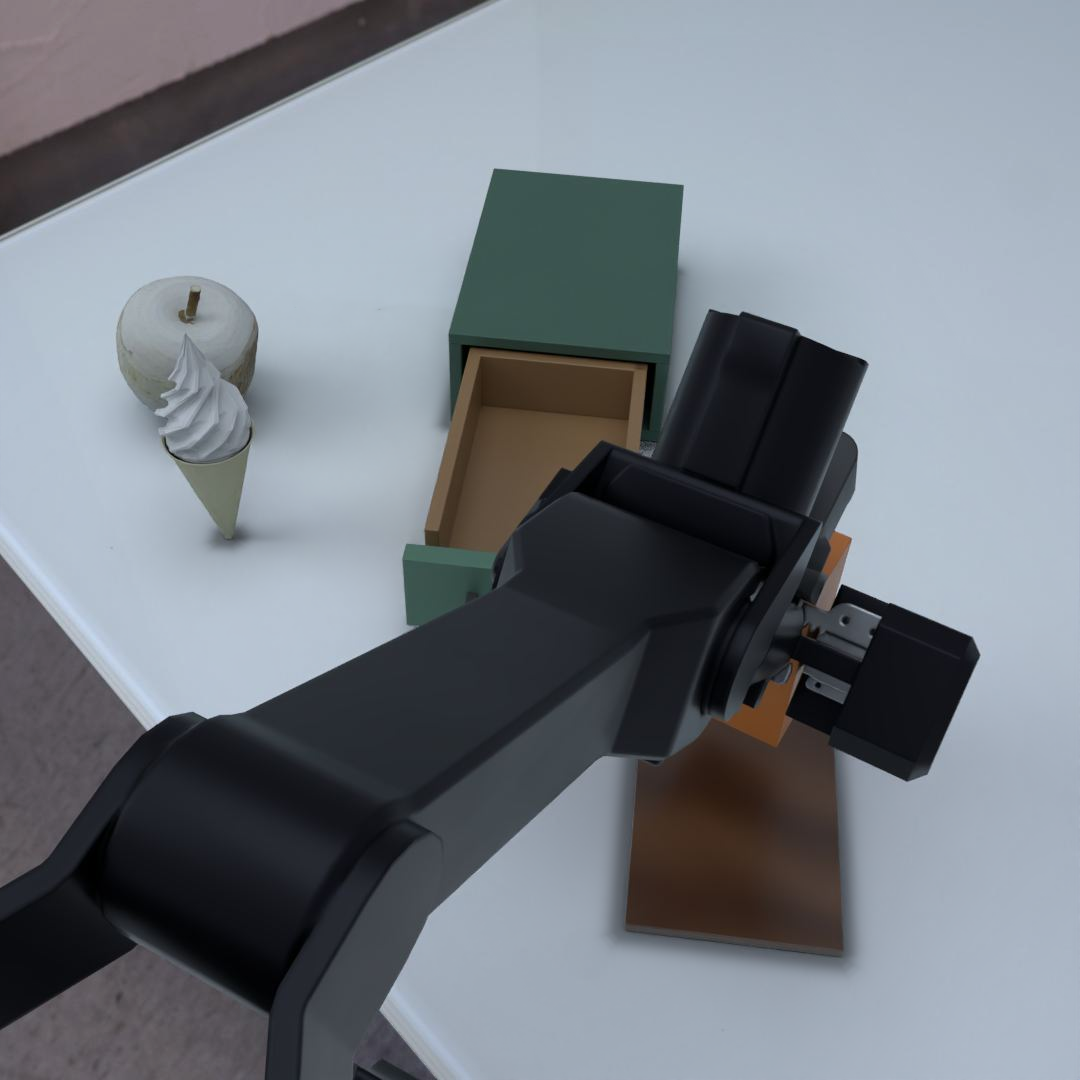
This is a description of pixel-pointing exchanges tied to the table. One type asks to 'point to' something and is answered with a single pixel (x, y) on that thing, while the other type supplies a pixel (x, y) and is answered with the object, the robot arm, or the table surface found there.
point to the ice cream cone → (207, 434)
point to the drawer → (511, 461)
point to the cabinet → (573, 275)
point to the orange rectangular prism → (771, 711)
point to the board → (739, 842)
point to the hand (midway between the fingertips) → (771, 620)
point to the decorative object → (159, 329)
